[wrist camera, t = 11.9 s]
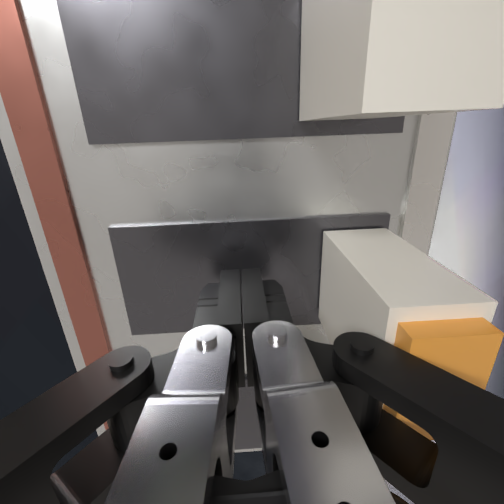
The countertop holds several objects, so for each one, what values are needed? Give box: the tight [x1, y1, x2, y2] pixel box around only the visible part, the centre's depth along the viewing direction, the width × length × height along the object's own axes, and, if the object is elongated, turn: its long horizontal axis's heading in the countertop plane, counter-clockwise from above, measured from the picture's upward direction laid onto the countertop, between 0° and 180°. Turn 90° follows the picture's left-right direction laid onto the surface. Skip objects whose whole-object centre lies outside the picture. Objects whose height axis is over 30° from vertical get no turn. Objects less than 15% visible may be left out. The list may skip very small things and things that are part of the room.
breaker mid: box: [318, 228, 504, 440], centre depth 10 cm, size 4×2×6 cm, turn 2°
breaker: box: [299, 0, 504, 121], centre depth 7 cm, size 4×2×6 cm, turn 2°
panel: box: [0, 0, 457, 452], centre depth 14 cm, size 22×16×2 cm
